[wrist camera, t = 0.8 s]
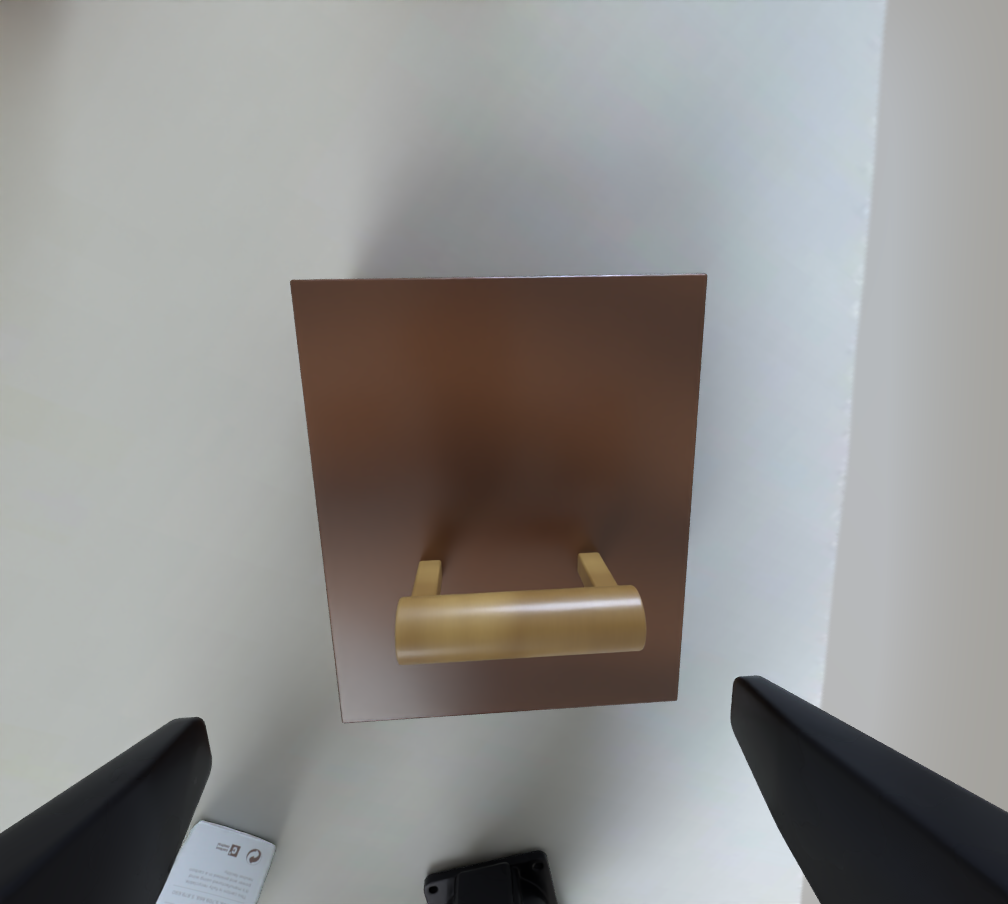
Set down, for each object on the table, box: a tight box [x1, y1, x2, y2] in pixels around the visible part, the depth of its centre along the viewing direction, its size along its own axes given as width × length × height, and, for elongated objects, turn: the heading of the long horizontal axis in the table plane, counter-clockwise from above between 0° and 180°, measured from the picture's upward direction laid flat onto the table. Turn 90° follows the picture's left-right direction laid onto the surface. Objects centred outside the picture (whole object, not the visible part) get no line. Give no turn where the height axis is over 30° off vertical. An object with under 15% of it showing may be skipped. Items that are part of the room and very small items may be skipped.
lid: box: [290, 273, 707, 723], centre depth 13 cm, size 14×12×5 cm
